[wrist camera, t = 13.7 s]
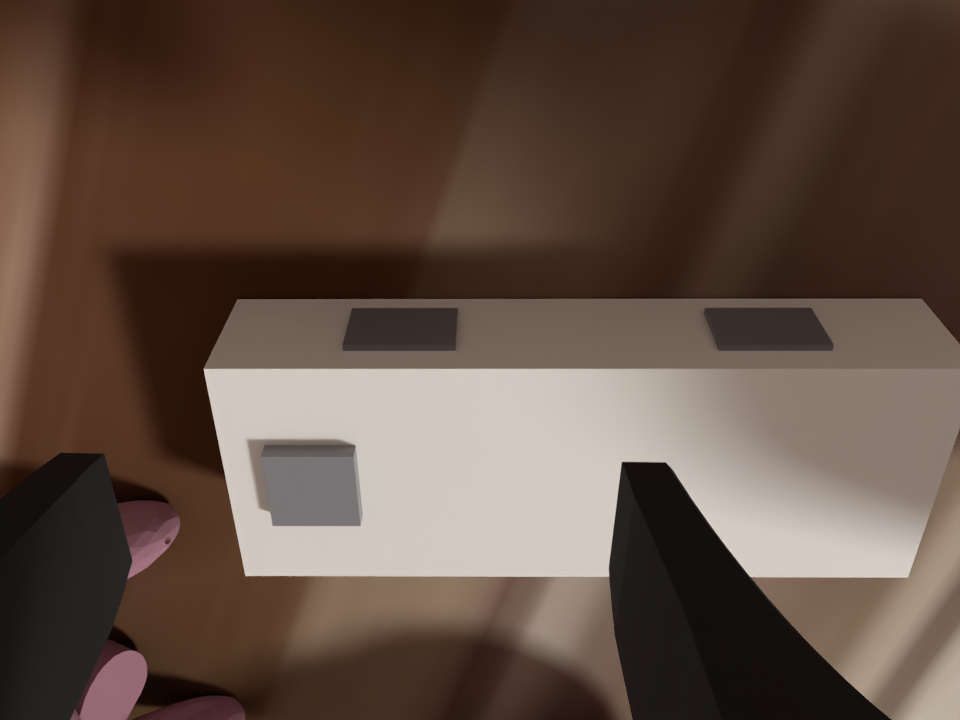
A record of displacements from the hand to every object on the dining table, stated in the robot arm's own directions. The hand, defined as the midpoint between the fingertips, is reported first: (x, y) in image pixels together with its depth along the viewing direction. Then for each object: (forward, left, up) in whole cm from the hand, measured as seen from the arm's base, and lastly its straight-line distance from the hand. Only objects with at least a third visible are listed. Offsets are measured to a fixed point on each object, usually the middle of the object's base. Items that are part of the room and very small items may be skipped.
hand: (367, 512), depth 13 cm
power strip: (-4, +4, -9) cm, 11 cm away
